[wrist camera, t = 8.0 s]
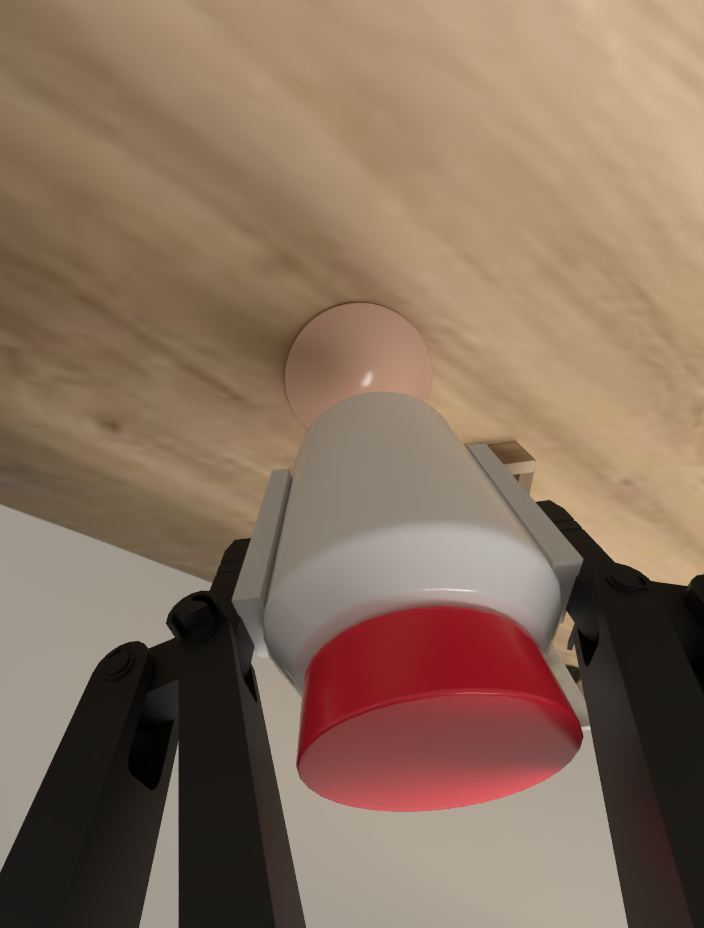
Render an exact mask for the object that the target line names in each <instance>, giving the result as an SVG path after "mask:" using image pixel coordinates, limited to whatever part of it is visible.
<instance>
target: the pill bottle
mask: <svg viewBox="0 0 704 928" xmlns="http://www.w3.org/2000/svg"><path fill="white" fill-rule="evenodd" d="M562 606H563V599H562V594H561V589H560V584H559V581H558V578H557V576H556V574H555V573H554V571H553V569H552V568H551V566H550V564H549V563H548V561H547V559H546V558H545V556H544V555H543V553H542V552H541V551H540V549H539V548H538V546H537V545H536V544H535V542H534V541H533V539H532V538H531V537H530V535H529V534H528V533H527V531H526V530H525V528H524V527H523V526H522V524H521V523H520V521H519V520H518V519H517V517H516V516H515V515H514V513H513V512H512V510H511V509H510V508H509V506H508V505H507V503H506V502H505V501H504V499H503V498H502V497H501V495H500V494H499V492H498V491H497V490H496V488H495V487H494V485H493V484H492V483H491V481H490V480H489V479H488V477H487V476H486V474H485V473H484V472H483V470H482V469H481V467H480V466H479V465H478V463H477V462H476V461H475V459H474V458H473V456H472V455H471V454H470V452H469V451H468V449H467V448H466V447H465V445H464V444H463V443H462V441H461V440H460V438H459V437H458V436H457V434H456V433H455V431H454V430H453V429H452V427H451V426H450V425H449V423H448V422H447V420H446V419H445V418H444V417H443V416H442V415H441V414H440V413H439V412H438V411H437V410H436V409H435V408H433V407H432V406H430V405H428V404H427V403H425V402H423V401H422V400H420V399H417V398H414V397H412V396H409V395H406V394H402V393H394V392H387V391H385V392H368V393H364V394H360V395H356V396H352V397H349V398H347V399H345V400H343V401H341V402H339V403H336V404H334V405H333V406H332V407H330V408H329V409H328V410H326V411H325V412H323V413H322V414H321V415H320V416H319V417H318V418H317V419H316V420H315V421H314V422H313V423H312V425H311V426H310V427H309V429H308V430H307V432H306V434H305V435H304V437H303V439H302V441H301V444H300V447H299V450H298V453H297V457H296V462H295V467H294V471H293V476H292V481H291V486H290V490H289V495H288V500H287V505H286V509H285V514H284V519H283V524H282V528H281V533H280V538H279V543H278V547H277V552H276V557H275V562H274V567H273V571H272V576H271V581H270V586H269V590H268V595H267V600H266V605H265V610H264V621H263V638H264V642H265V645H266V649H267V652H268V655H269V657H270V658H271V660H272V661H273V663H274V664H275V666H276V667H277V669H278V670H279V672H280V673H281V675H282V676H283V677H284V678H285V679H286V680H287V681H288V683H289V684H290V685H291V686H292V687H293V688H294V689H295V690H296V691H297V692H298V694H299V695H300V696H301V697H302V703H301V715H300V728H299V740H298V750H297V762H296V766H297V770H298V773H299V776H300V779H301V780H302V781H303V782H304V783H305V784H306V786H307V787H308V788H309V789H311V790H312V791H314V792H315V793H317V794H319V795H320V796H322V797H324V798H326V799H329V800H332V801H334V802H336V803H340V804H344V805H348V806H352V807H356V808H363V809H369V810H378V811H379V810H380V811H394V812H398V811H399V812H410V811H411V812H413V811H431V810H442V809H450V808H457V807H464V806H468V805H474V804H479V803H483V802H487V801H491V800H494V799H498V798H502V797H505V796H508V795H511V794H514V793H517V792H519V791H522V790H525V789H527V788H529V787H532V786H534V785H536V784H538V783H540V782H543V781H544V780H546V779H547V778H549V777H551V776H552V775H554V774H556V773H557V772H559V771H560V770H561V769H562V768H564V766H566V765H567V764H568V763H569V762H571V760H572V759H573V758H574V756H575V755H576V753H577V752H578V751H579V749H580V747H581V743H582V740H583V733H582V729H581V724H580V721H579V719H578V717H577V716H576V714H575V712H574V710H573V708H572V706H571V704H570V703H569V701H568V699H567V697H566V695H565V693H564V692H563V690H562V688H561V686H560V684H559V682H558V680H557V679H556V677H555V675H554V673H553V671H552V669H551V668H550V666H549V664H548V662H547V660H546V657H547V655H548V653H549V650H550V648H551V645H552V643H553V640H554V638H555V635H556V633H557V630H558V628H559V625H560V621H561V613H562Z"/></svg>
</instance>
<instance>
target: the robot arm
mask: <svg viewBox="0 0 704 928" xmlns="http://www.w3.org/2000/svg"><path fill="white" fill-rule="evenodd" d="M467 449H468V451H469V452H470V454H471V455H472V456H473V458H474V459H475V461H476V462H477V463H478V465H479V466H480V467H481V469H482V470H483V472H484V473H485V474H486V476H487V477H488V479H489V480H490V481H491V483H492V484H493V485H494V487H495V488H496V490H497V491H498V492H499V494H500V495H501V497H502V498H503V499H504V501H505V502H506V503H507V505H508V506H509V508H510V509H511V510H512V512H513V513H514V515H515V516H516V517H517V519H518V520H519V521H520V523H521V524H522V526H523V527H524V528H525V530H526V531H527V533H528V534H529V535H530V537H531V538H532V539H533V541H534V542H535V544H536V545H537V546H538V548H539V549H540V551H541V552H542V553H543V555H544V556H545V558H546V559H547V561H548V563H549V564H550V566H551V568H552V569H553V571H554V573H555V574H556V576H557V578H558V581H559V584H560V589H561V594H562V599H563V606H562V613H561V621H560V624H561V623H563V621H564V617H565V614H566V611H567V612H568V613H569V615H570V616H571V618H572V619H573V621H574V622H575V624H574V627H573V630H572V632H571V635H570V638H569V641H568V647H567V649H568V650H572V648H573V646H574V643H575V649H576V654H577V659H578V665H579V670H580V675H581V680H582V686H583V691H584V696H585V701H586V707H587V712H588V717H589V723H590V728H591V733H592V738H593V743H594V749H595V754H596V759H597V765H598V770H599V775H600V781H601V785H602V791H603V796H604V802H605V807H606V812H607V817H608V823H609V828H610V833H611V838H612V844H613V849H614V855H615V860H616V865H617V870H618V876H619V880H620V886H621V892H622V897H623V902H624V907H625V913H626V918H627V923H628V928H704V574H703V575H697V576H696V577H695V578H693V579H692V580H691V582H690V584H689V585H688V586H682V585H675V584H668V583H660V582H654V581H650V579H649V578H647V577H646V576H645V575H643V574H642V573H641V572H640V571H638V570H635V569H633V568H631V567H629V566H626V565H623V564H619V563H615V562H614V561H613V560H612V559H611V558H610V557H609V556H608V555H607V554H606V553H605V552H604V551H603V549H602V548H601V547H600V546H599V545H598V544H597V543H596V542H595V541H594V540H593V539H592V538H591V537H590V536H589V535H588V534H587V533H586V531H585V530H582V527H581V526H580V525H579V524H578V523H577V522H576V521H574V519H573V518H572V517H571V516H570V514H569V513H568V512H567V511H566V510H565V509H564V508H562V507H560V506H559V505H557V504H555V503H553V502H552V501H550V500H547V501H539V502H535V501H534V500H533V499H532V498H531V496H530V495H529V494H528V493H527V492H526V490H525V489H524V488H523V487H522V486H521V485H520V483H519V482H518V481H517V480H516V479H515V477H514V476H513V475H512V474H511V473H510V472H509V470H508V469H507V468H506V467H505V466H504V465H503V463H502V462H501V461H500V460H499V459H498V457H497V456H496V455H495V454H494V453H493V452H492V450H491V449H490V448H489V447H488V446H487V444H486V443H483V444H475V445H468V448H467ZM291 481H292V476H291V472H290V469H282V470H274V471H272V473H271V477H270V480H269V483H268V486H267V489H266V492H265V496H264V499H263V502H262V505H261V508H260V512H259V515H258V518H257V521H256V524H255V527H254V531H253V534H252V537H251V538H247V539H239V540H234V541H233V543H232V544H231V545H230V546H229V547H228V548H227V550H226V551H225V553H224V555H223V558H222V560H221V565H220V566H219V568H218V571H217V575H216V576H215V578H214V581H213V583H212V586H211V589H210V591H199V592H195V593H192V594H190V595H188V596H187V597H185V598H183V599H182V600H180V601H179V602H178V603H177V604H176V605H175V606H174V607H173V609H172V610H171V611H170V613H169V614H168V618H167V621H166V624H167V626H168V627H169V629H170V630H171V631H172V633H173V635H174V636H175V638H173V639H171V640H169V641H166V642H164V643H161V644H159V645H156V646H154V647H151V648H149V649H148V648H147V646H146V645H145V644H144V643H141V642H139V641H134V642H128V643H125V644H123V645H120V646H118V647H117V648H115V649H114V650H112V651H111V652H110V653H108V654H107V655H106V656H105V657H104V658H103V659H102V660H101V661H100V662H99V664H98V665H97V667H96V669H95V670H94V672H93V673H92V676H91V678H90V680H89V682H88V684H87V686H86V688H85V691H84V693H83V695H82V697H81V699H80V701H79V704H78V706H77V708H76V710H75V712H74V714H73V716H72V719H71V721H70V723H69V725H68V727H67V729H66V732H65V734H64V736H63V738H62V740H61V743H60V745H59V747H58V749H57V751H56V753H55V755H54V757H53V760H52V762H51V764H50V766H49V769H48V770H47V773H46V775H45V777H44V779H43V781H42V783H41V786H40V788H39V790H38V792H37V794H36V796H35V799H34V801H33V803H32V805H31V807H30V809H29V812H28V814H27V816H26V818H25V820H24V822H23V825H22V827H21V829H20V831H19V833H18V835H17V837H16V840H15V842H14V844H13V846H12V848H11V850H10V853H9V855H8V857H7V859H6V861H5V864H4V866H3V868H2V870H1V872H0V928H139V924H140V920H141V915H142V910H143V906H144V901H145V896H146V891H147V887H148V882H149V877H150V872H151V868H152V863H153V858H154V853H155V848H156V844H157V839H158V834H159V829H160V825H161V820H162V816H163V811H164V806H165V801H166V797H167V791H168V787H169V782H170V778H171V773H172V768H173V763H174V758H175V754H176V749H177V744H178V740H179V928H306V925H305V920H304V915H303V910H302V905H301V900H300V895H299V891H298V885H297V880H296V875H295V870H294V865H293V860H292V856H291V850H290V845H289V840H288V835H287V830H286V825H285V820H284V815H283V810H282V805H281V800H280V795H279V790H278V785H277V780H276V776H275V770H274V765H273V760H272V756H271V750H270V745H269V741H268V735H267V730H266V726H265V720H264V715H263V711H262V706H261V701H260V695H259V690H258V686H257V681H256V676H255V671H254V668H253V666H252V664H251V660H252V655H253V651H254V648H255V650H256V652H257V655H258V657H269V655H268V652H267V649H266V645H265V642H264V638H263V621H264V610H265V605H266V600H267V595H268V590H269V586H270V581H271V576H272V571H273V567H274V562H275V557H276V552H277V547H278V543H279V538H280V533H281V528H282V524H283V519H284V514H285V509H286V505H287V500H288V495H289V490H290V486H291Z"/></svg>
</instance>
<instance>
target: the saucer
mask: <svg viewBox="0 0 704 928" xmlns="http://www.w3.org/2000/svg"><path fill="white" fill-rule="evenodd" d="M431 385H432V364H431V359H430V355H429V352H428V349H427V346H426V344H425V342H424V341H423V339H422V337H421V335H420V334H419V333H418V331H417V330H416V329H415V328H414V327H413V326H412V324H411V323H410V322H409V321H407V320H406V319H405V318H403V317H402V316H401V315H399V314H398V313H396V312H394V311H393V310H391V309H389V308H386V307H383V306H381V305H377V304H372V303H363V302H357V303H347V304H343V305H338V306H336V307H333V308H330V309H328V310H326V311H324V312H323V313H321V314H319V315H318V316H317V317H315V318H314V319H313V320H311V321H310V322H309V323H308V324H307V325H306V326H305V327H304V328H303V330H302V331H301V332H300V334H299V335H298V337H297V338H296V340H295V342H294V344H293V346H292V348H291V350H290V353H289V355H288V359H287V363H286V369H285V387H286V393H287V397H288V400H289V404H290V406H291V408H292V410H293V412H294V414H295V415H296V417H297V419H298V420H299V421H300V422H301V424H302V425H303V426H304V427H305V428H306V429H307V430H308V429H309V427H310V426H311V425H312V423H313V422H314V421H315V420H316V419H317V418H318V417H319V416H320V415H321V414H322V413H323V412H325V411H326V410H328V409H329V408H330V407H332V406H333V405H334V404H336V403H339V402H341V401H343V400H345V399H347V398H349V397H352V396H356V395H360V394H364V393H368V392H385V391H387V392H394V393H402V394H406V395H409V396H412V397H414V398H417V399H420V400H422V401H423V402H425V403H427V401H428V397H429V394H430V390H431Z"/></svg>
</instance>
